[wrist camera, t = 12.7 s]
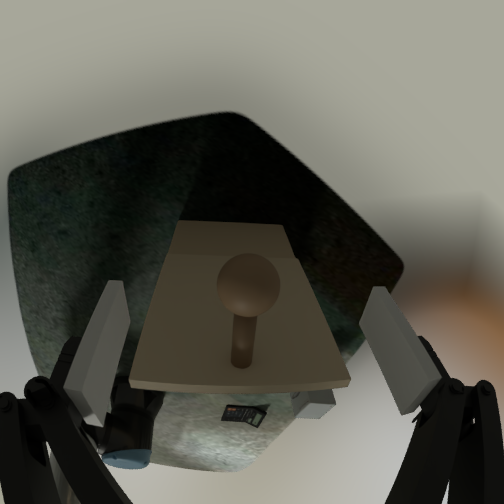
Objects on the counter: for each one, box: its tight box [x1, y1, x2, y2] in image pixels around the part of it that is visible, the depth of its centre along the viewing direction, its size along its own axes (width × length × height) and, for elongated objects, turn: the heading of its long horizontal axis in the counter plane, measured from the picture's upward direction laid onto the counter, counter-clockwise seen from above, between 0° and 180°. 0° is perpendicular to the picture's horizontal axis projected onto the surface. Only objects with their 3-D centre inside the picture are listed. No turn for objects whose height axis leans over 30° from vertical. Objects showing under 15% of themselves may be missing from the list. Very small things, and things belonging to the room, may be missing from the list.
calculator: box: [221, 405, 267, 428], centre depth 79 cm, size 9×12×3 cm
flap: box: [129, 253, 351, 394], centre depth 27 cm, size 17×20×10 cm
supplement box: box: [290, 389, 336, 419], centre depth 65 cm, size 7×7×13 cm
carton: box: [168, 220, 295, 258], centre depth 48 cm, size 17×18×12 cm
